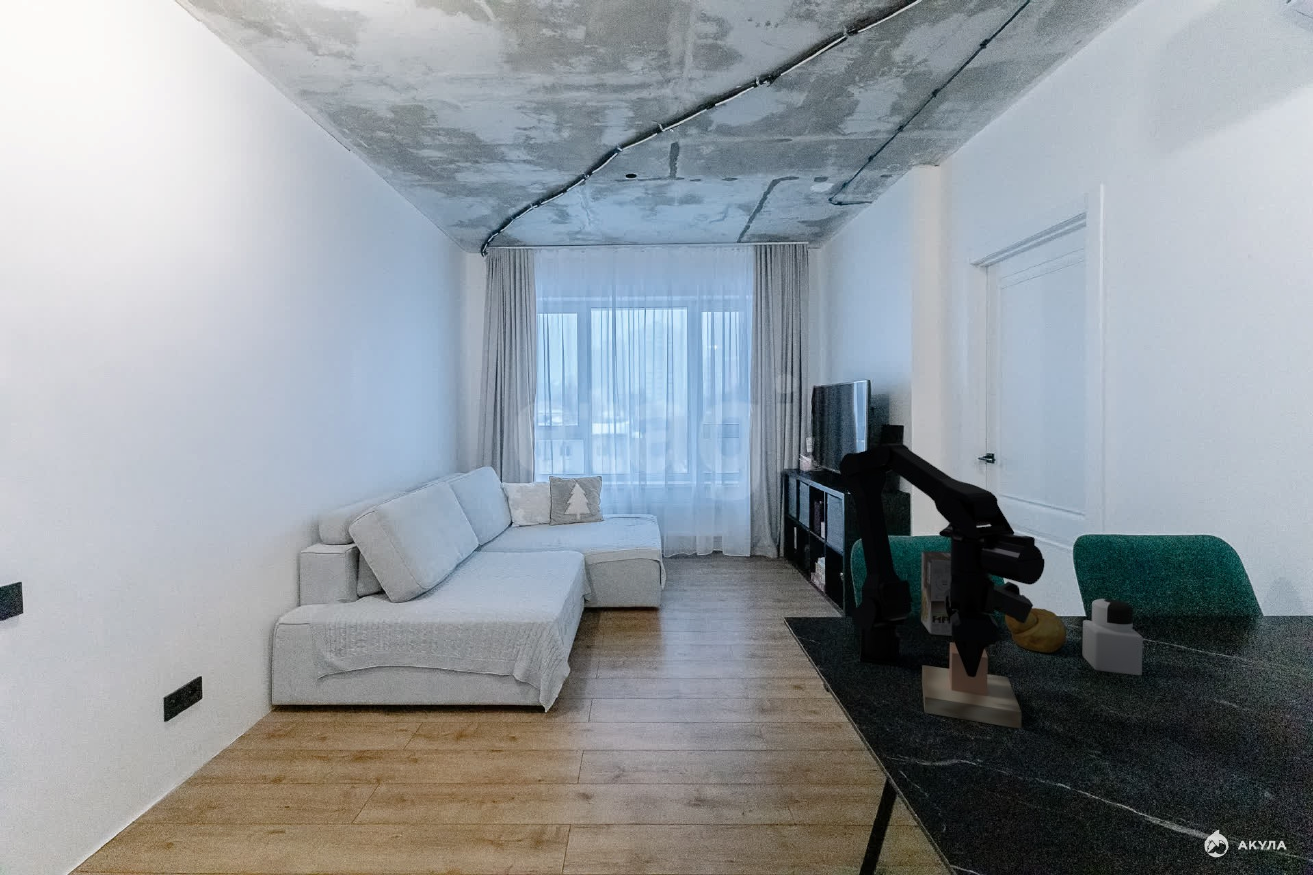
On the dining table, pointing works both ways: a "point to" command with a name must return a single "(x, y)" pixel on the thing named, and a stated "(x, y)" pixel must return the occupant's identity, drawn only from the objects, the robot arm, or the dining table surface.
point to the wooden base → (970, 699)
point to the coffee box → (935, 591)
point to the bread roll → (1038, 631)
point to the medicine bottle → (1112, 638)
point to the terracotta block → (959, 675)
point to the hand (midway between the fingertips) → (968, 665)
